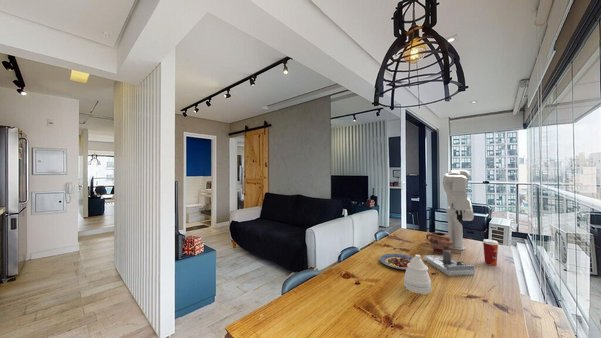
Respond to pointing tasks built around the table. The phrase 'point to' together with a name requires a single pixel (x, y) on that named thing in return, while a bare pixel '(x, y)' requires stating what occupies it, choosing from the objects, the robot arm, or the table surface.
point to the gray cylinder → (446, 257)
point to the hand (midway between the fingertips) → (459, 220)
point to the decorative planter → (439, 241)
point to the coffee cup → (490, 251)
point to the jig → (450, 266)
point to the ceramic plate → (396, 260)
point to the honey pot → (417, 276)
